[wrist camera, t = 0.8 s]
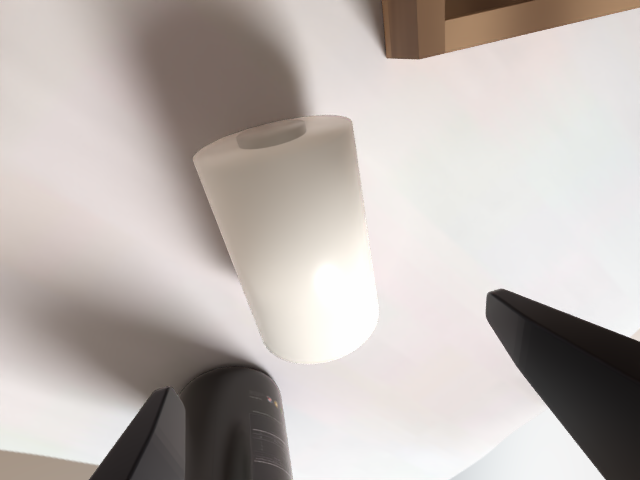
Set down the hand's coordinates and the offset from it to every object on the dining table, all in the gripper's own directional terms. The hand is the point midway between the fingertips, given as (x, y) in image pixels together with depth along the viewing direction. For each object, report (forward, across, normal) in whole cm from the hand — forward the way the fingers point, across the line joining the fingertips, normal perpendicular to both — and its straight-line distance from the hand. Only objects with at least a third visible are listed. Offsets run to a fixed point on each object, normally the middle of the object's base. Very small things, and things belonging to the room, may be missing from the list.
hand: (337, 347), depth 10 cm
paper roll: (+6, 0, 0) cm, 7 cm away
